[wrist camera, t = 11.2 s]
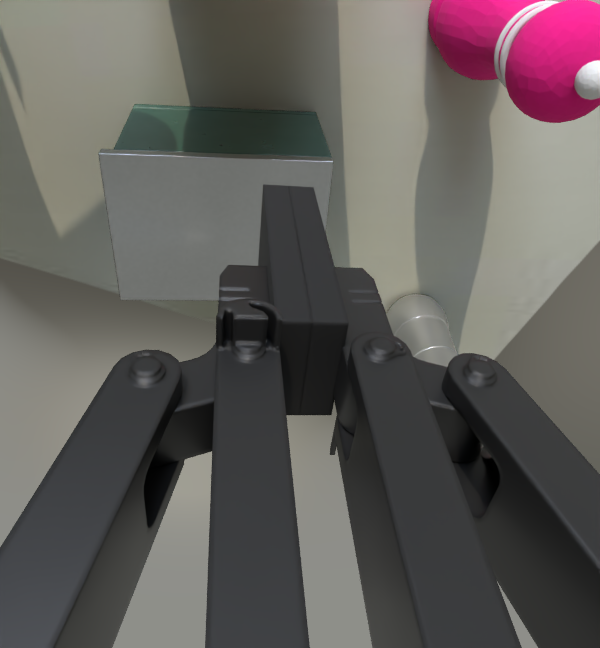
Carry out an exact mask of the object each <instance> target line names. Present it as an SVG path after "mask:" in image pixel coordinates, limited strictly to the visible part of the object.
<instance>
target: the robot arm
mask: <svg viewBox="0 0 600 648" xmlns="http://www.w3.org/2000/svg"><path fill="white" fill-rule="evenodd" d="M381 302H382V301H381V298H380V295H379V294H378V290H377V287H376V284H375V281H374V279H373V278H372V277H371V276H370V275H369V274H368V273H367V272H366V271H365V270H364V269H363V268H342V267H334V264H333V260H332V256H331V252H330V248H329V244H328V241H327V237H326V233H325V229H324V225H323V221H322V218H321V214H320V210H319V206H318V202H317V198H316V195H315V191H314V187H301V186H283V185H264V184H263V194H262V210H261V226H260V242H259V258H258V266H249V265H228V266H227V267H226V268H225V269H224V271H223V272H222V273H221V274H220V278H219V304H218V314H217V316H216V343H215V345H214V346H213V348H212V349H211V350H210V351H208V352H207V353H206V354H204V355H202V356H200V357H198V358H195V359H192V360H188V361H184V362H179V361H178V360H177V359H176V358H174V357H173V356H172V355H171V354H169V353H165V352H162V351H159V350H143V351H138V352H133V353H131V354H129V355H127V356H125V357H123V358H121V359H120V360H119V361H118V362H117V364H116V365H115V366H114V367H113V369H112V370H111V372H110V373H109V375H108V377H107V378H106V380H105V382H104V383H103V385H102V386H101V388H100V389H99V391H98V393H97V394H96V396H95V397H94V399H93V401H92V402H91V404H90V405H89V407H88V409H87V410H86V412H85V413H84V415H83V416H82V418H81V420H80V421H79V423H78V425H77V426H76V428H75V429H74V431H73V433H72V434H71V436H70V437H69V439H68V440H67V442H66V444H65V445H64V447H63V448H62V450H61V452H60V453H59V455H58V456H57V458H56V460H55V461H54V463H53V464H52V466H51V468H50V469H49V471H48V472H47V474H46V476H45V477H44V479H43V481H42V482H41V484H40V485H39V487H38V488H37V490H36V492H35V493H34V495H33V496H32V498H31V500H30V501H29V503H28V504H27V506H26V507H25V509H24V511H23V512H22V514H21V516H20V517H19V519H18V520H17V522H16V523H15V525H14V527H13V528H12V530H11V531H10V533H9V535H8V536H7V538H6V539H5V541H4V543H3V544H2V546H1V547H0V648H112V647H113V644H114V641H115V639H116V637H117V634H118V631H119V629H120V626H121V624H122V621H123V619H124V616H125V614H126V611H127V608H128V606H129V603H130V600H131V598H132V596H133V593H134V590H135V588H136V585H137V583H138V580H139V577H140V575H141V573H142V570H143V567H144V565H145V562H146V560H147V557H148V555H149V552H150V550H151V547H152V544H153V542H154V539H155V537H156V534H157V532H158V529H159V527H160V524H161V521H162V519H163V516H164V514H165V511H166V509H167V506H168V503H169V501H170V498H171V496H172V493H173V491H174V488H175V485H176V483H177V480H178V478H179V475H180V473H181V470H182V468H183V465H184V459H187V458H190V457H194V456H196V455H201V454H204V453H207V452H211V451H212V476H211V504H210V532H209V558H208V587H207V613H206V641H205V648H310V647H309V638H308V627H307V618H306V607H305V597H304V587H303V577H302V568H301V557H300V547H299V537H298V527H297V518H296V508H295V497H294V487H293V478H292V468H291V458H290V448H289V438H288V429H287V418H286V415H331V414H332V409H333V403H334V400H335V405H336V410H337V418H336V422H335V427H334V432H333V438H332V442H331V448H330V455H335V451H336V446H337V450H338V456H339V461H340V467H341V473H342V478H343V484H344V489H345V495H346V501H347V506H348V512H349V518H350V523H351V529H352V534H353V540H354V545H355V551H356V557H357V563H358V568H359V574H360V579H361V585H362V591H363V596H364V602H365V608H366V613H367V619H368V624H369V630H370V636H371V641H372V646H373V648H522V647H521V645H520V642H519V639H518V637H517V634H516V631H515V629H514V626H513V623H512V621H511V618H510V615H509V613H508V610H507V607H506V605H505V602H504V599H503V597H502V594H501V592H500V589H499V586H498V584H497V581H498V583H499V585H500V586H501V588H502V590H503V591H504V593H505V594H506V596H507V598H508V599H509V601H510V603H511V604H512V606H513V607H514V609H515V611H516V612H517V614H518V615H519V617H520V619H521V620H522V622H523V623H524V625H525V627H526V628H527V630H528V632H529V633H530V635H531V637H532V638H533V640H534V641H535V643H536V644H537V646H538V648H600V474H599V473H598V472H597V471H596V470H595V469H594V468H593V466H592V465H591V464H590V463H589V462H588V461H587V460H586V459H585V457H584V456H583V455H582V454H581V453H580V452H579V451H578V450H577V449H576V447H575V446H574V445H573V444H572V443H571V442H570V441H569V440H568V439H567V437H566V436H565V435H564V434H563V433H562V432H561V431H560V429H558V427H557V426H556V425H555V424H554V423H553V422H552V420H551V419H550V418H549V417H548V416H547V415H546V414H545V413H544V412H543V410H541V408H540V407H539V406H538V405H537V404H536V403H535V402H534V400H533V399H532V398H531V397H530V396H529V395H528V394H527V392H526V391H525V390H524V389H523V388H522V387H521V386H520V385H519V384H518V382H517V381H516V380H515V379H514V378H513V377H512V376H511V375H510V373H509V372H508V371H507V370H506V369H505V368H504V367H503V366H501V365H500V364H499V363H498V362H496V361H494V360H492V359H490V358H488V357H486V356H483V355H478V354H474V353H465V354H460V355H457V356H454V357H453V358H452V360H451V361H450V362H449V364H448V367H446V366H442V365H438V364H434V363H429V362H426V361H423V360H420V359H417V358H415V357H413V356H412V353H411V351H410V349H409V348H408V346H407V345H406V343H404V342H403V341H402V340H400V339H399V338H398V337H395V336H394V335H393V332H392V329H391V327H390V324H389V321H388V318H387V315H386V312H385V310H384V307H383V304H381Z"/></svg>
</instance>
